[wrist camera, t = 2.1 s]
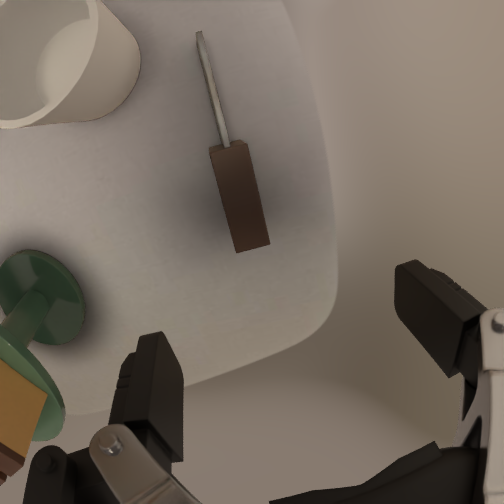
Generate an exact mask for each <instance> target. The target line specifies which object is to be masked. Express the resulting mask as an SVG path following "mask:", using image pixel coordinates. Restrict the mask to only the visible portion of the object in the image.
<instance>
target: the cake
mask: <svg viewBox="0 0 504 504" xmlns="http://www.w3.org/2000/svg"><path fill="white" fill-rule="evenodd" d="M47 396H48V394H47V393H45V392H44V391H42V390H41V389H40V388H38V387H37V386H35V385H34V384H33V383H31V382H30V381H28V380H27V379H26V378H24V377H23V376H22V375H20V374H19V373H18V372H16V371H15V370H14V369H13V368H11V367H10V366H9V365H8V364H6V363H5V362H4V361H3V360H1V359H0V486H1V485H2V484H3V483H4V482H5V481H6V478H7V475H8V476H10V477H11V476H12V475H14V474H15V473H16V472H17V471H18V470H19V469H20V468H22V467H23V465H24V462H25V458H26V455H27V452H28V449H29V446H30V443H31V440H32V437H33V434H34V431H35V428H36V425H37V422H38V419H39V417H40V414H41V411H42V409H43V406H44V403H45V401H46V398H47Z"/></svg>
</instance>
